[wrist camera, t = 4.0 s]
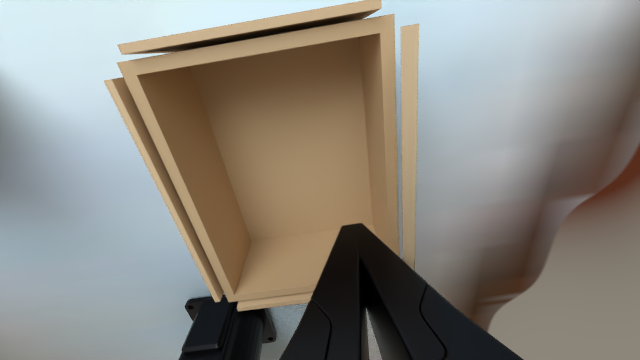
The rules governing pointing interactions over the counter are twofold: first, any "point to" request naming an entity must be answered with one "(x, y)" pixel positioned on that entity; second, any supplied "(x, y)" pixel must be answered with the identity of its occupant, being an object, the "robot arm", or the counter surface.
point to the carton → (269, 142)
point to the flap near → (409, 136)
